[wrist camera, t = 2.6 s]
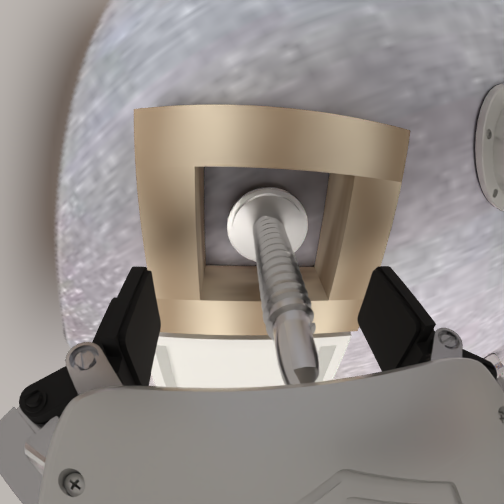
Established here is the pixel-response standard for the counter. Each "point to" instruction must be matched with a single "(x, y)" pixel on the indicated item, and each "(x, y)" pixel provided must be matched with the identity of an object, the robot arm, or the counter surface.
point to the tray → (234, 360)
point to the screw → (279, 275)
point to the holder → (262, 156)
